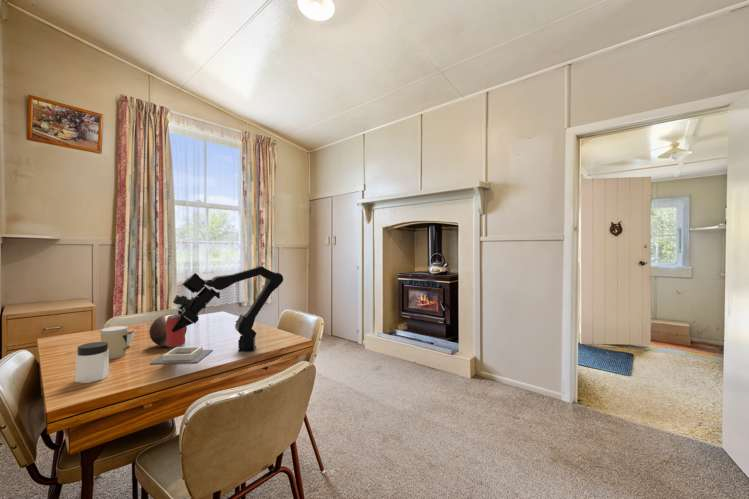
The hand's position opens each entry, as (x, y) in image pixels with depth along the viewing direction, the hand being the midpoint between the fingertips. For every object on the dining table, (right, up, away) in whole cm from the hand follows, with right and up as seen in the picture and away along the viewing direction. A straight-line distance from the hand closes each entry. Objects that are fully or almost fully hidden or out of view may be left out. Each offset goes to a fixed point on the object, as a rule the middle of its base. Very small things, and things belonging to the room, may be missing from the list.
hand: (171, 329), depth 131 cm
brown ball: (-16, -13, +22) cm, 30 cm away
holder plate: (+1, -13, +6) cm, 14 cm away
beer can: (+1, -7, +1) cm, 7 cm away
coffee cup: (-29, -13, +6) cm, 32 cm away
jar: (-17, -13, -18) cm, 28 cm away
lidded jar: (-36, -13, +19) cm, 43 cm away
